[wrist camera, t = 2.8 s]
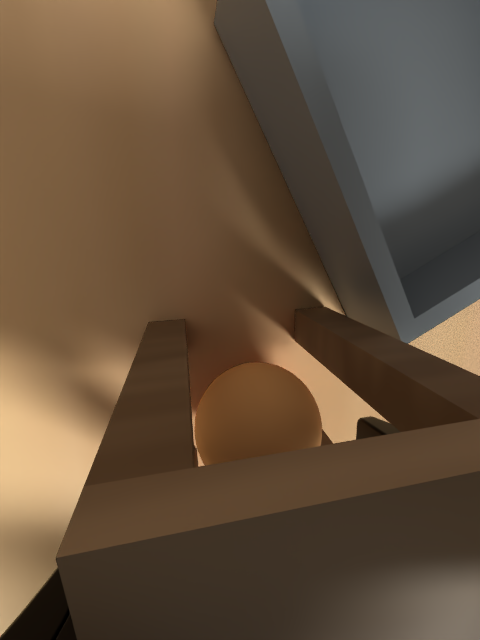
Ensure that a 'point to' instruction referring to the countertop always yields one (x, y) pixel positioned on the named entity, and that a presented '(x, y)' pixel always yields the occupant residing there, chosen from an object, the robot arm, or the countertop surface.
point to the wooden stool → (284, 509)
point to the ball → (255, 414)
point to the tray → (373, 143)
